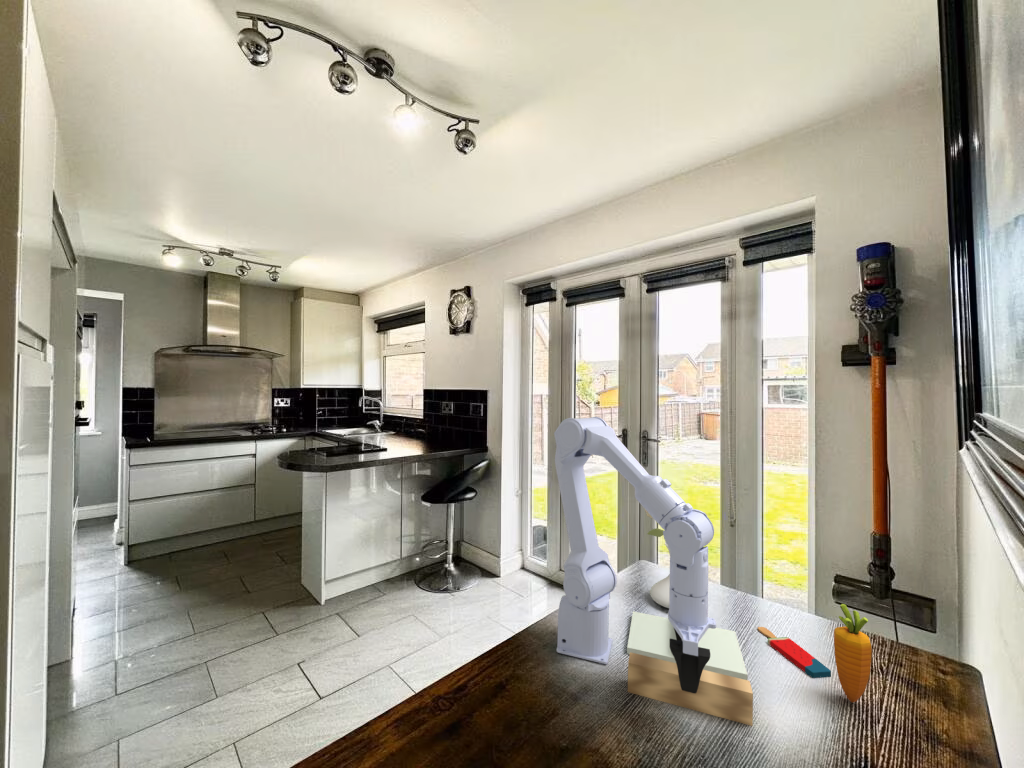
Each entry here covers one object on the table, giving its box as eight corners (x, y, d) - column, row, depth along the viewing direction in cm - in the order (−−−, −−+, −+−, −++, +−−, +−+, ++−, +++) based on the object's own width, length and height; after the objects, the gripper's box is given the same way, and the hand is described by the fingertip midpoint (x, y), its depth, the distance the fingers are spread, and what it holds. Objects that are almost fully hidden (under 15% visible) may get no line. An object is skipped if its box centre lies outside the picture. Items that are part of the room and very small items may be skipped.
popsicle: (770, 623, 89) (833, 670, 74) (770, 630, 89) (833, 679, 74) (750, 624, 88) (810, 672, 73) (750, 631, 88) (810, 681, 73)
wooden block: (627, 693, 69) (628, 662, 69) (629, 681, 72) (630, 652, 72) (752, 727, 62) (752, 693, 62) (749, 713, 65) (749, 680, 65)
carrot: (879, 716, 65) (880, 618, 65) (843, 710, 66) (843, 614, 66) (859, 693, 69) (860, 602, 70) (826, 688, 70) (826, 599, 71)
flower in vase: (701, 598, 101) (703, 494, 101) (701, 621, 91) (703, 505, 91) (645, 586, 106) (646, 488, 107) (639, 607, 96) (641, 498, 96)
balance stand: (627, 653, 79) (627, 631, 79) (632, 616, 92) (633, 597, 92) (747, 681, 72) (747, 656, 72) (735, 637, 85) (735, 616, 85)
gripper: (721, 616, 59) (720, 714, 59) (711, 574, 73) (710, 654, 72) (668, 606, 61) (667, 700, 61) (668, 568, 75) (667, 645, 75)
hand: (687, 674), depth 67 cm, fingers open, 7 cm apart
